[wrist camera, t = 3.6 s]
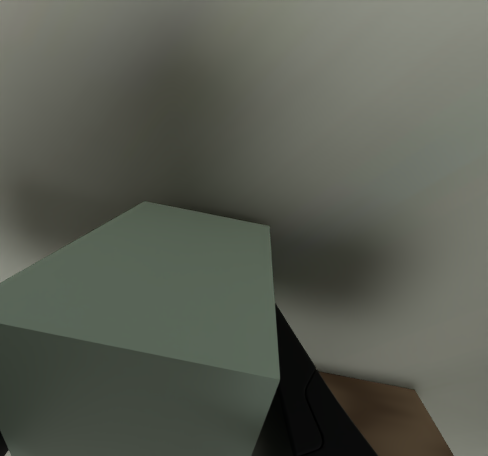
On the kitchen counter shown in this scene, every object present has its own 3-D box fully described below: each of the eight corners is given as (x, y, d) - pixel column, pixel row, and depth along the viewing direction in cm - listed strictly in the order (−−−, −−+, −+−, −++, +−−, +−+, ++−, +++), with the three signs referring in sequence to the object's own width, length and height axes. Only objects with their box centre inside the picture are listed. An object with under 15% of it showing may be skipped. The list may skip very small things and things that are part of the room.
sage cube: (269, 225, 9) (280, 379, 3) (246, 320, 11) (228, 515, 5) (144, 201, 9) (-53, 313, 3) (144, 300, 11) (19, 473, 5)
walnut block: (410, 383, 13) (468, 479, 10) (350, 467, 17) (374, 558, 13) (243, 351, 13) (236, 434, 10) (221, 441, 17) (210, 525, 13)
